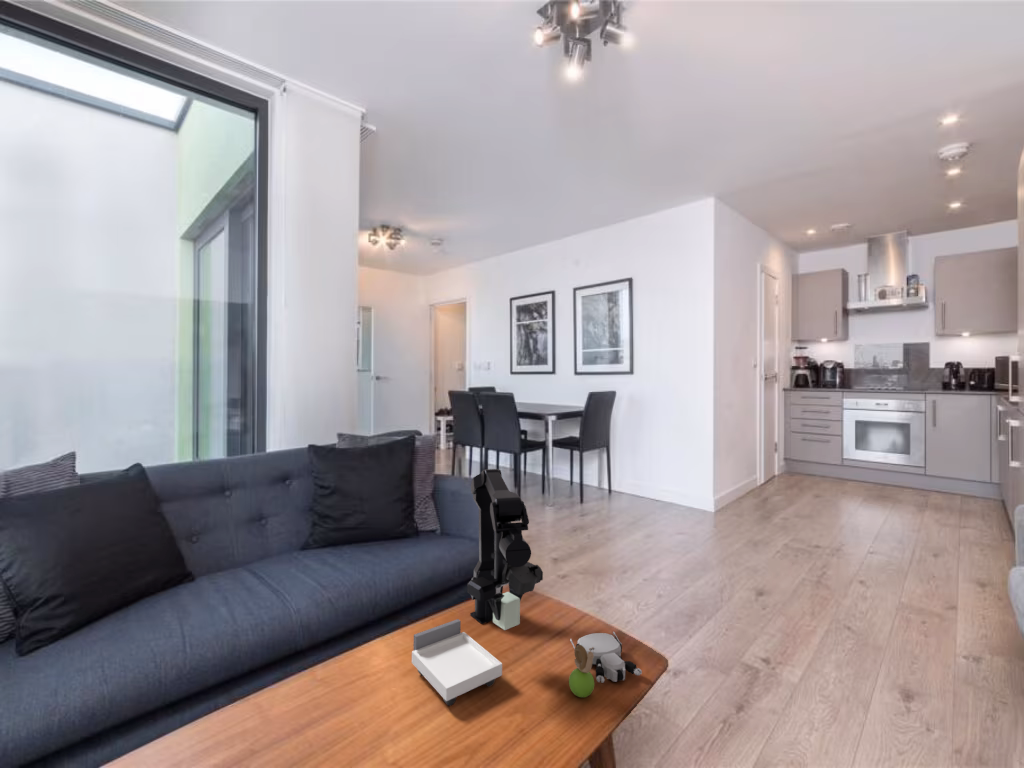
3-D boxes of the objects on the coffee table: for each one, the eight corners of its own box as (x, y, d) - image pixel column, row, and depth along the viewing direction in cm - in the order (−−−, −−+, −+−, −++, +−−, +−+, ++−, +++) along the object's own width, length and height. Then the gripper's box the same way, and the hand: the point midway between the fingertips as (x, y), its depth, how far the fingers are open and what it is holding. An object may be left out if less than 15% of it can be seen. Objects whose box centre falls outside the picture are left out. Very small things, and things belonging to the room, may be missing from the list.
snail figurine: (581, 709, 95) (582, 651, 95) (563, 691, 101) (564, 636, 101) (602, 701, 98) (603, 645, 97) (584, 683, 103) (584, 630, 103)
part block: (492, 622, 109) (493, 596, 109) (507, 616, 112) (508, 591, 112) (504, 630, 105) (505, 604, 105) (519, 624, 108) (520, 598, 108)
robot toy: (645, 685, 104) (612, 644, 119) (646, 666, 104) (613, 627, 118) (596, 695, 101) (568, 652, 115) (597, 676, 100) (569, 634, 115)
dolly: (409, 670, 107) (409, 636, 107) (461, 649, 116) (461, 617, 116) (446, 713, 94) (446, 673, 93) (501, 686, 102) (502, 649, 102)
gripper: (496, 571, 96) (495, 646, 96) (559, 551, 108) (558, 617, 108) (466, 555, 105) (465, 624, 105) (527, 538, 117) (527, 600, 117)
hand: (506, 616), depth 109 cm, fingers closed on part block, 4 cm apart
